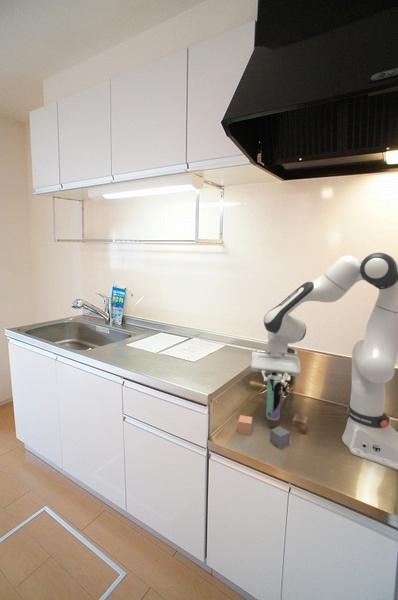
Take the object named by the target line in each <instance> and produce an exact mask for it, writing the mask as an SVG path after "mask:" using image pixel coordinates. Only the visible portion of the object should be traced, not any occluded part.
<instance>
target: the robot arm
mask: <svg viewBox="0 0 398 600" xmlns="http://www.w3.org/2000/svg"><path fill="white" fill-rule="evenodd" d="M360 281H366V283H368V284H370V285H371V286H373V287H375V288H377V289H378V290H379V291H378V294H377V295H378V296H377V299H376V302H375V304H374V306H373V309H372V311H371V313H370V316H369V319H368V321H367V323H366V329H365V335H364V339H360V340H359V341H356V342H355V344H354V345H353V347H352V351H351V352H352V353H351V391H350V401H349V404H348V407H347V412H346V413H347V417H346V418H347V422H346V426H345V428H344V429H345V430H344V432H343V434H342V436H341V440H342V442H343V443H344V445H345V446H346V447H348V450H349V451H350V453H351V454H352V455H353V456H354V455H355V456H357V457H360V458H363V459H364V460H368V461H371V462H374V463H377V464H380V465H383V466H385V467H388V468H391V469H394V470H396V471H398V431H397V430H395V428H393V426H391V424H390V418H391V414H389V415H387V414H386V413H385V401H386V396H387V395H386V394H387V393H386V392H387V391H386V385H385V384H386V383H387V382H390V381H391V380H392V378H393V377H394V376H395V372H396V371H395V367H396V361H397V358H398V262H397V260H396V259H395V257H392V255H390V254H388V253H384V252H375V253H370V254H369V255H366V256H365V257H364V259H362V260H361V259H359V258H357V257H356V256H353V255H343V256H340V258H338V259H337V260H336V261H334V263H332V264H331V265H330V266H329V267H328V268H327V269H326V270H325V271H324V273H323V274H321V275H320V276H319V277H318V278H316V279H314V280H312V281H307V282H305V283H303V284H302V285H300V286H299V287H297V288H296V289H295V290H294V291H293V292H292V293H291V294H289V295H288V296H286V298H284V299H283V300H282V301H281V302H280V303H279V304H278V305H276V306H275V307H273V308H272V309H270V310H269V311H267V312H266V314H265V315H264V316H263V317H264V318H263V325H264V328H265V330H266V331H267V343H266V348H265V349H266V350H258V349H256V350H253V351H252V352H251V356H250V357H251V361H250V369H251V371H252V372H258V373H261V375H262V377H263V383H267V378H268V376H266V373H269V374H271V373H272V372H273V371H277V374H278V375H283V376H284V377H283V378H281V386H282V385H283V386H285V385H286V384H285V383H286V381H287V379H288V378H289V376H290V377H292V376H293V377H300V376H301V374H302V366H301V360H300V357H299V351H298V350H297V349H294V348H292V347H289V346H288V345H289V344H295V343H299V342H301V341H302V340H304V338H305V336H306V334H307V326H306V324H305V322H304V321H302V320H300V319H298V318H297V317H294V316H292V315H290V314H291V313H292V312H293V311H294V310H295V309H297V308H298V307H299V306H301V305H302V304H303V303H306V302H320V303H334V302H337V301H339V300H340V299H342V298H343V296H345V295H346V293H348V292H349V291H350V290H351V288H352V287H353V286H355V284H357V283H358V282H360Z"/></svg>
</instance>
